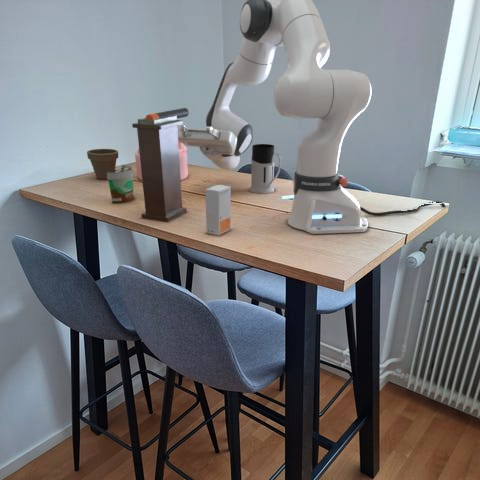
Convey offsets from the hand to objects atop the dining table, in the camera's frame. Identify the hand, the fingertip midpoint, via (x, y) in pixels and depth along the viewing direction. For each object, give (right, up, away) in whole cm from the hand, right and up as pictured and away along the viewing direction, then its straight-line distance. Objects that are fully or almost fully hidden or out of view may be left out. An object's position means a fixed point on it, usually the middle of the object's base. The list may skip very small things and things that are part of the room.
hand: (194, 127), depth 147 cm
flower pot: (-38, -5, +36) cm, 53 cm away
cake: (-16, -4, +37) cm, 41 cm away
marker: (-6, -3, -15) cm, 17 cm away
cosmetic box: (+8, -36, -18) cm, 41 cm away
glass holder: (+24, -15, +18) cm, 33 cm away
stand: (-8, -28, -5) cm, 30 cm away
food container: (-23, -21, +9) cm, 32 cm away
